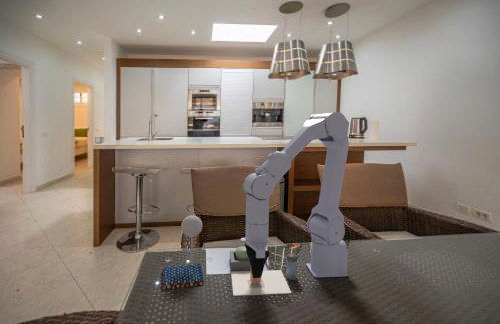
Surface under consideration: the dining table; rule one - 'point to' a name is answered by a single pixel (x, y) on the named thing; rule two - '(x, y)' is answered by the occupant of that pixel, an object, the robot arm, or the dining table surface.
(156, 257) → the dining table surface
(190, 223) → the lollipop
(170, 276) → the woven mat
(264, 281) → the paper
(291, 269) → the marker slate
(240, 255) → the button
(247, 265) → the button housing
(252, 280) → the marker terracotta
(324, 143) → the robot arm
